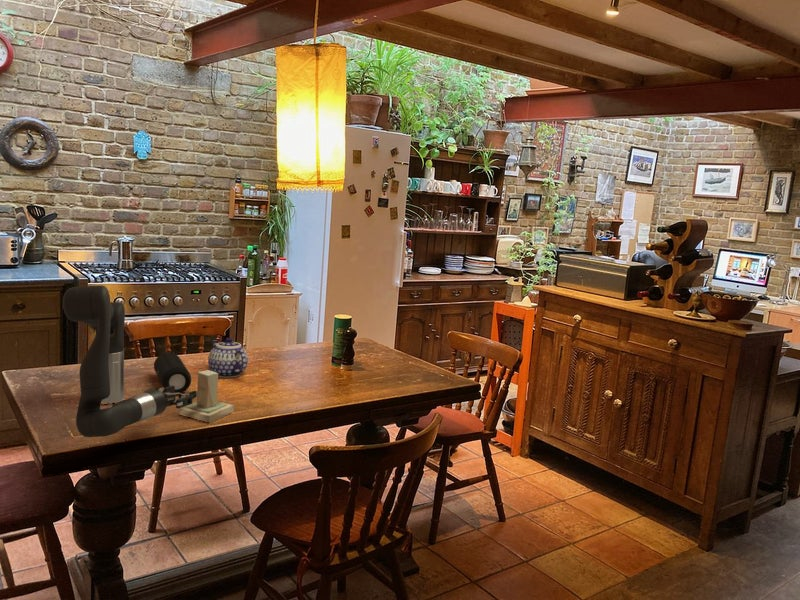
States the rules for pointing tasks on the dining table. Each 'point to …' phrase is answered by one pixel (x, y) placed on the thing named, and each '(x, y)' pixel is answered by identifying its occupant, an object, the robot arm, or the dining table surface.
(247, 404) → the dining table surface
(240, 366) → the teapot
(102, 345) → the robot arm
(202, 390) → the box
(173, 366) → the portable speaker
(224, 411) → the birch base
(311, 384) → the dining table surface
